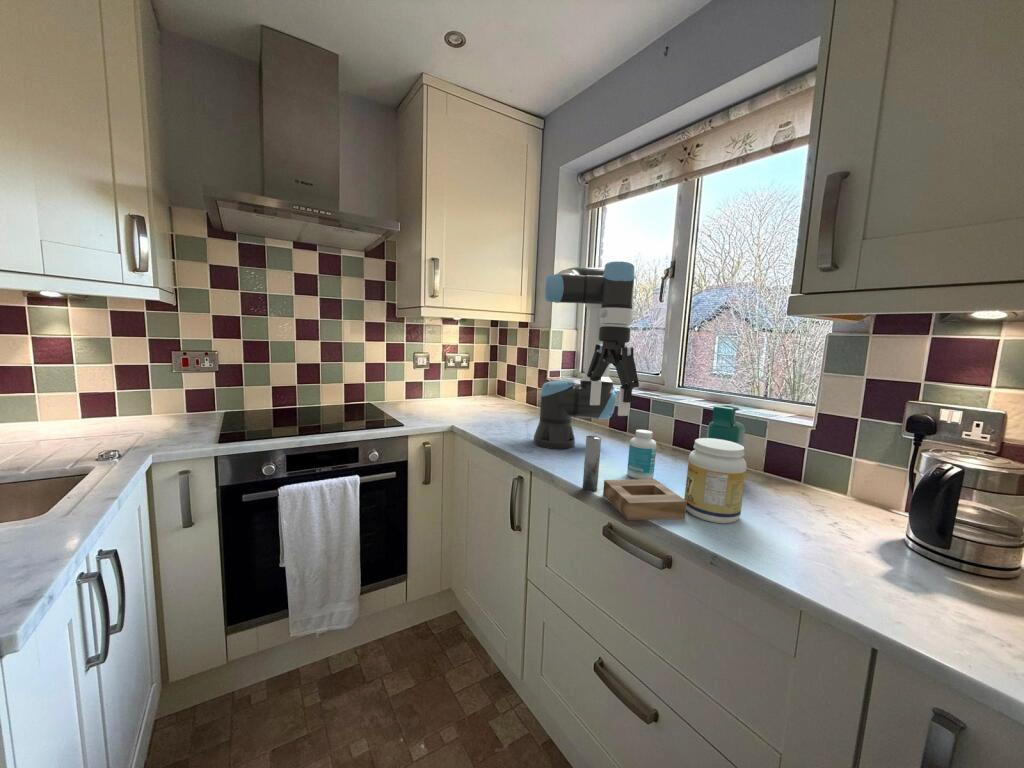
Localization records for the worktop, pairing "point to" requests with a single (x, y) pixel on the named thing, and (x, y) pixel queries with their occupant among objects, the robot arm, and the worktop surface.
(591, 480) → the pin
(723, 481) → the supplement tub
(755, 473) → the worktop surface
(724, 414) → the green bottle
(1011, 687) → the worktop surface
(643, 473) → the pill bottle
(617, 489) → the slot block
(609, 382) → the robot arm
